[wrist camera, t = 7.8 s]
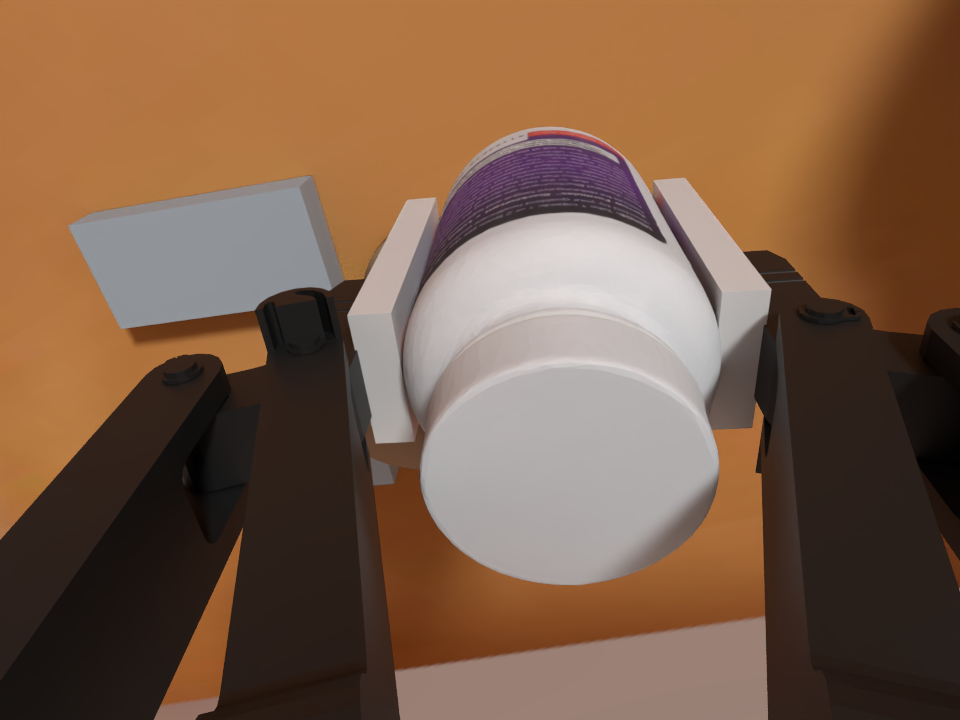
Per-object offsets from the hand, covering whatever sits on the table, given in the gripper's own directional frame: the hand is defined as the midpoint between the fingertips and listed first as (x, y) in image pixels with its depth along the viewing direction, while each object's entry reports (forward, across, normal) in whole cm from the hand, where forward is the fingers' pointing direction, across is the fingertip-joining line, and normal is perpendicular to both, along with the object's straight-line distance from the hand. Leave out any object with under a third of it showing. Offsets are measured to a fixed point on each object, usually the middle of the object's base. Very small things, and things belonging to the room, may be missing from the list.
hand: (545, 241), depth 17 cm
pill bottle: (0, 0, 0) cm, 0 cm away
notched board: (+15, -16, -11) cm, 25 cm away
